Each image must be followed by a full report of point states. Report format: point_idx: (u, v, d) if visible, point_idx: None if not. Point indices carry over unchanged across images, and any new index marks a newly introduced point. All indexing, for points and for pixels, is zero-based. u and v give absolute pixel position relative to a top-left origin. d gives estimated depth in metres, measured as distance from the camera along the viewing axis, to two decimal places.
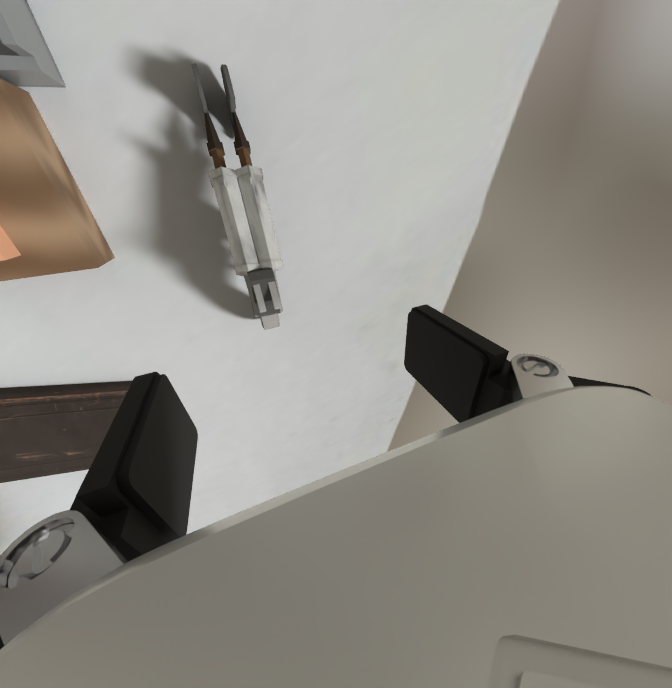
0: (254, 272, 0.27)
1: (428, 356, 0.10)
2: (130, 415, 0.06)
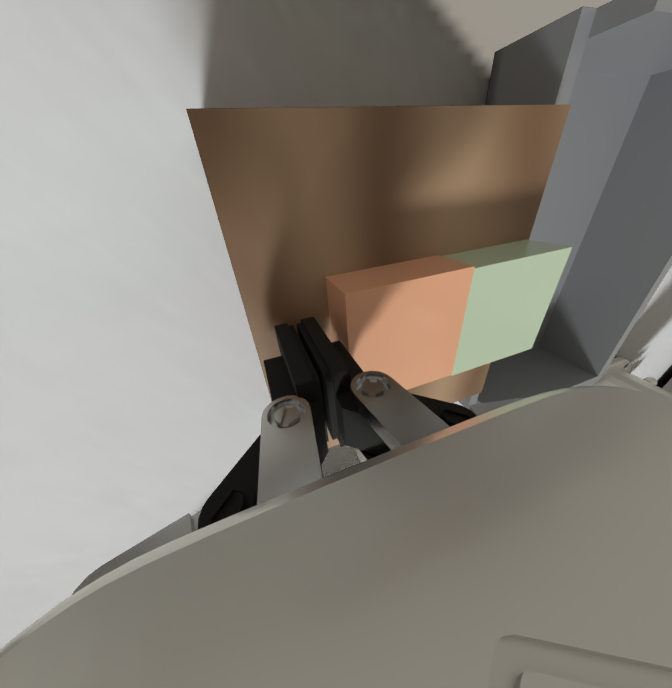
0: None
1: None
2: (292, 346, 0.08)
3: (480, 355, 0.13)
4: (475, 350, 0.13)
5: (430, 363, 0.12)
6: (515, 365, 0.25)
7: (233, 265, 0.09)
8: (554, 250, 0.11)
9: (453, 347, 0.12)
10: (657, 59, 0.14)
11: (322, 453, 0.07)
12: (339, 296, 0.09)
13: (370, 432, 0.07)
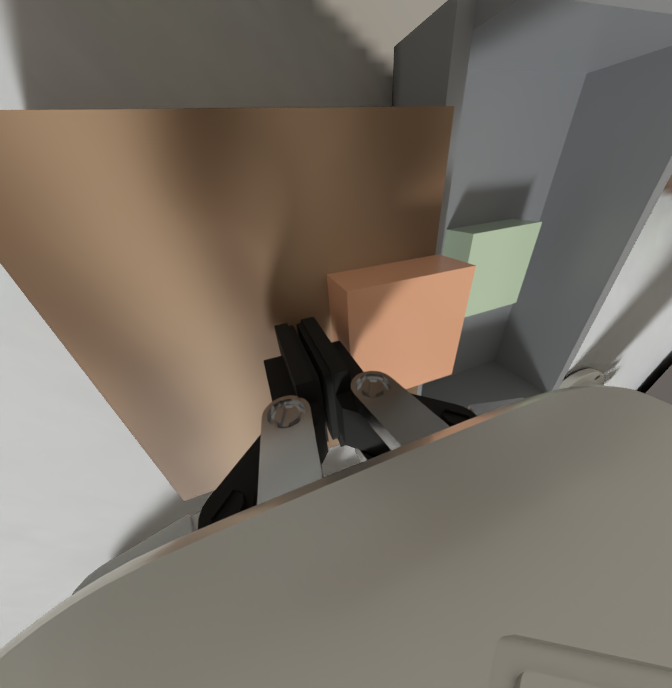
0: None
1: None
2: (292, 346, 0.08)
3: None
4: None
5: (430, 362, 0.12)
6: (466, 382, 0.23)
7: (29, 297, 0.08)
8: (459, 227, 0.17)
9: (453, 347, 0.12)
10: (580, 55, 0.12)
11: (322, 453, 0.07)
12: (340, 294, 0.09)
13: (370, 432, 0.07)
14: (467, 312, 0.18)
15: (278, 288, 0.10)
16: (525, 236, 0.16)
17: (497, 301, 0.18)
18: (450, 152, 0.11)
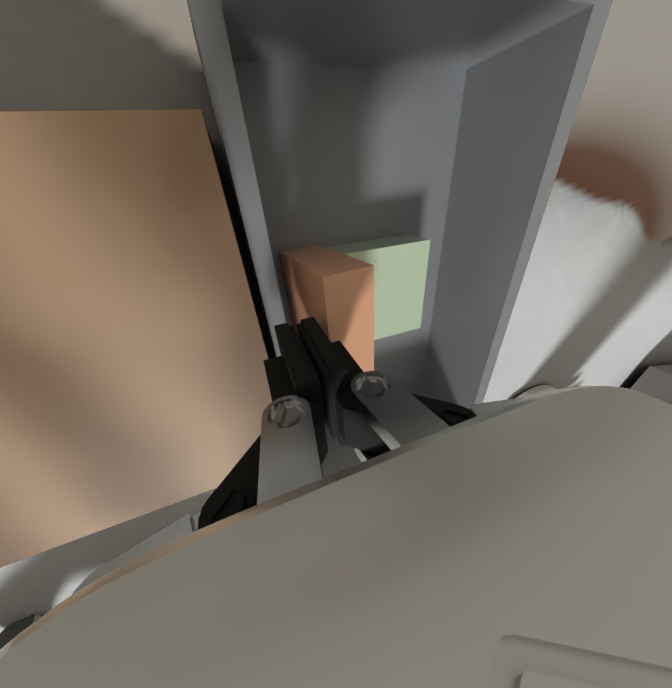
0: None
1: None
2: (292, 346, 0.08)
3: None
4: None
5: None
6: None
7: None
8: (340, 245, 0.15)
9: None
10: (428, 46, 0.10)
11: (322, 453, 0.07)
12: (360, 276, 0.10)
13: (370, 432, 0.07)
14: None
15: (12, 337, 0.08)
16: (411, 255, 0.14)
17: (394, 327, 0.16)
18: (245, 166, 0.09)
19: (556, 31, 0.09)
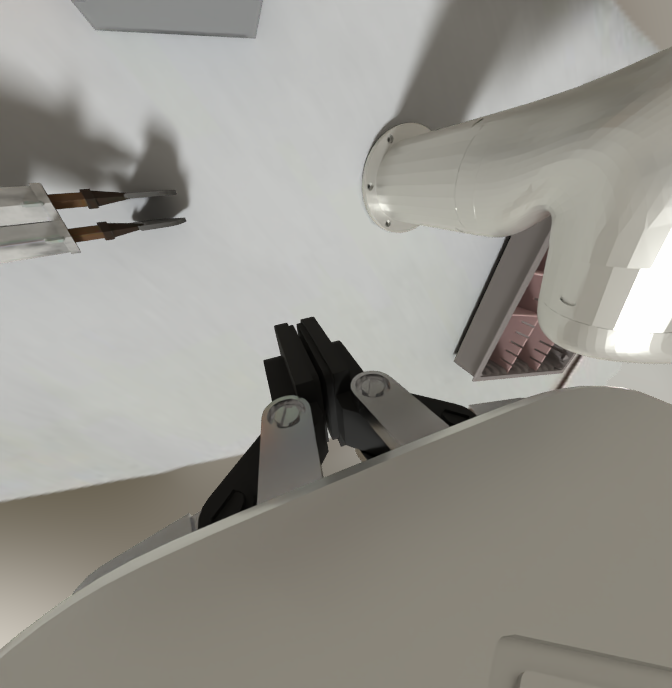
0: None
1: None
2: (292, 346, 0.08)
3: None
4: None
5: None
6: None
7: None
8: None
9: None
10: None
11: (322, 453, 0.07)
12: None
13: (370, 432, 0.07)
14: None
15: None
16: None
17: None
18: None
19: None
